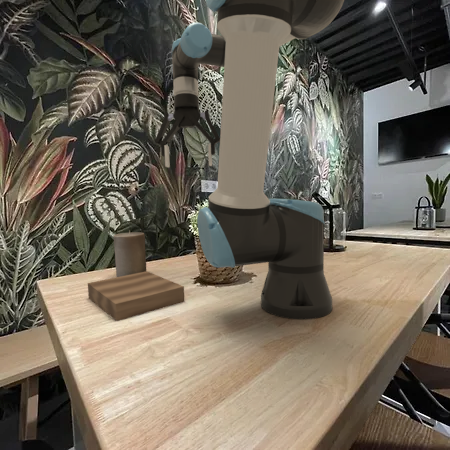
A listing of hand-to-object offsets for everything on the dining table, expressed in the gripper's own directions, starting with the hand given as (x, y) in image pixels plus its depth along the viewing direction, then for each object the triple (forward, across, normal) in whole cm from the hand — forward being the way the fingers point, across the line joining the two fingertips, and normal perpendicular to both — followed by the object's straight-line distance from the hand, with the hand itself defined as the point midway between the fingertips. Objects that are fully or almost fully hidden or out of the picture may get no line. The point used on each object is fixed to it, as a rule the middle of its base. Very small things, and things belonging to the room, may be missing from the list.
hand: (188, 166), depth 90 cm
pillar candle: (+35, +20, 0) cm, 41 cm away
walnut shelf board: (+35, +11, +24) cm, 43 cm away
